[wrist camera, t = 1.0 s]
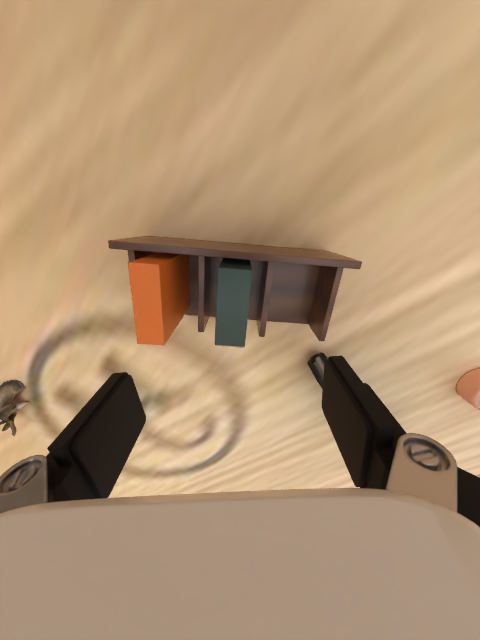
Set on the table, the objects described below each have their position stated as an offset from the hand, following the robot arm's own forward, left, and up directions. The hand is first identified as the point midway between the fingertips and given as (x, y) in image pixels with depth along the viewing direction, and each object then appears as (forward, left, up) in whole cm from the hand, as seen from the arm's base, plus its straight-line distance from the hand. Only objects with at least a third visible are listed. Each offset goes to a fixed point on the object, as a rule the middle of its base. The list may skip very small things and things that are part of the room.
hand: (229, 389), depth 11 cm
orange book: (+1, -9, -26) cm, 28 cm away
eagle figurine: (+29, -43, -27) cm, 59 cm away
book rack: (+1, 0, -27) cm, 27 cm away
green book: (+1, 0, -26) cm, 26 cm away
